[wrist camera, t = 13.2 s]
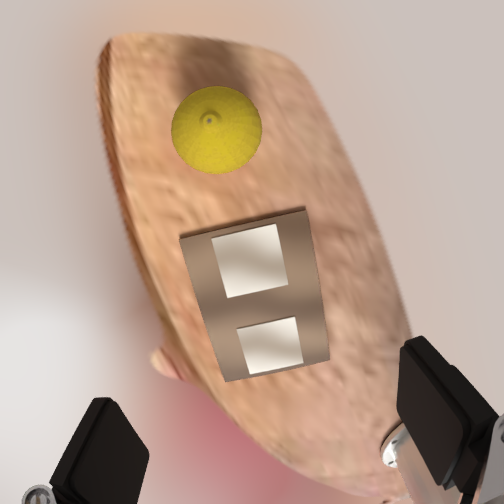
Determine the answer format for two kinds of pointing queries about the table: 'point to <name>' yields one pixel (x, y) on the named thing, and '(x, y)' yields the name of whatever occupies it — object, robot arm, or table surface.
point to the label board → (259, 295)
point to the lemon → (216, 130)
